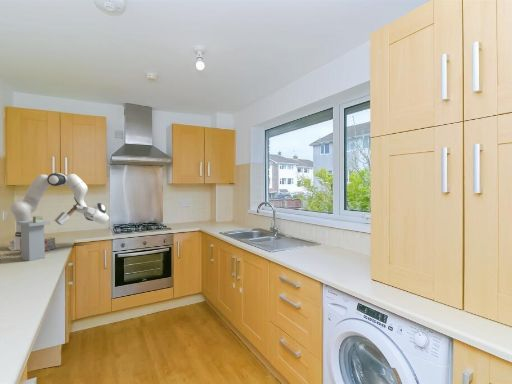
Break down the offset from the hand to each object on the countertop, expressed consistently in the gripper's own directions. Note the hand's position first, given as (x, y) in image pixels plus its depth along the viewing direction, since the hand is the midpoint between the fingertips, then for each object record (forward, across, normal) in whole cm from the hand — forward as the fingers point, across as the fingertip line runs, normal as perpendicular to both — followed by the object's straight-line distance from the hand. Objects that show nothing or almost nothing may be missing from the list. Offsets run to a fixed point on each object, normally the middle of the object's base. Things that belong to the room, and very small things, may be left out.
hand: (75, 205), depth 222 cm
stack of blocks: (-3, -20, +39) cm, 44 cm away
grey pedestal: (+7, 0, +45) cm, 45 cm away
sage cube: (+20, +6, +22) cm, 30 cm away
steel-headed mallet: (0, 0, +8) cm, 8 cm away
